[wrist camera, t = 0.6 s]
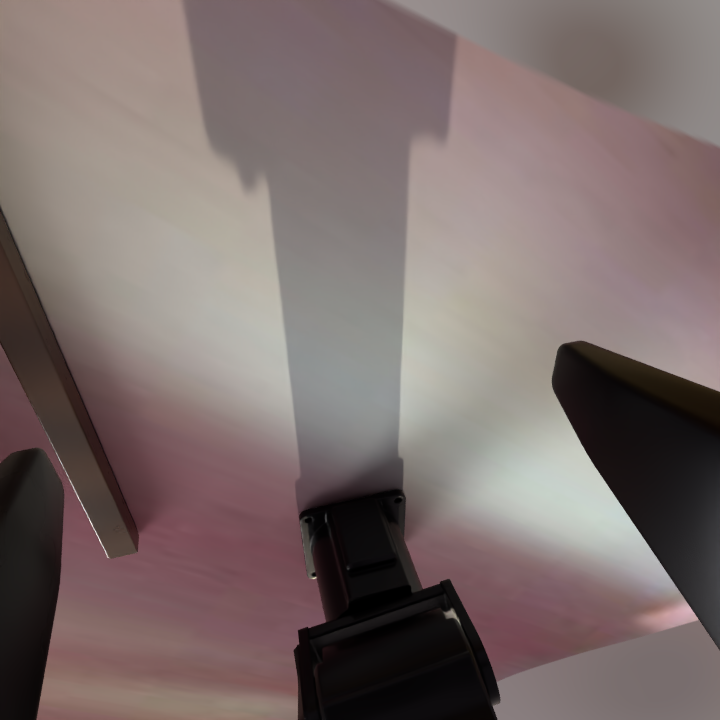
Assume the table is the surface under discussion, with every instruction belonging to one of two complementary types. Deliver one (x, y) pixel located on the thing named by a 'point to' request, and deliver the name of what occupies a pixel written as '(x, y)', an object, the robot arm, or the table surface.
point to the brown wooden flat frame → (59, 403)
